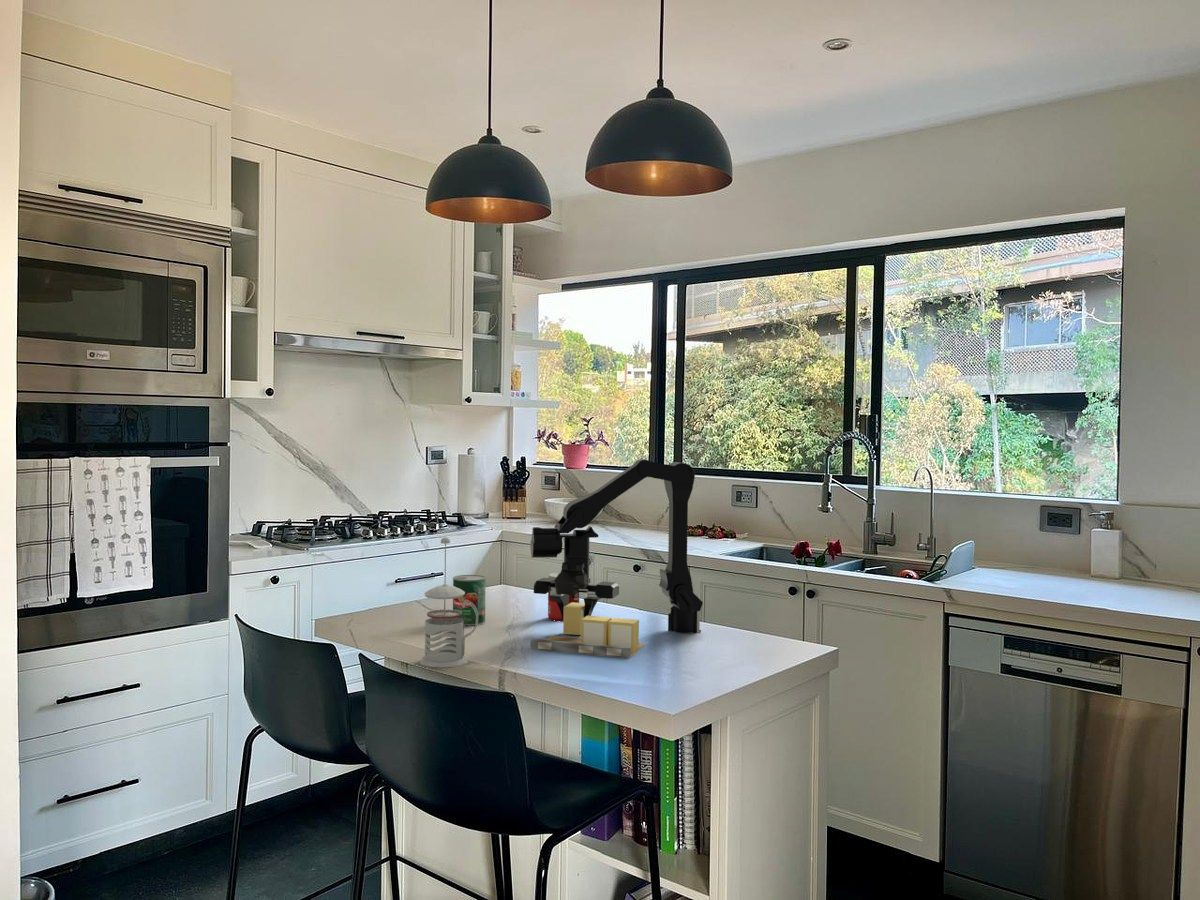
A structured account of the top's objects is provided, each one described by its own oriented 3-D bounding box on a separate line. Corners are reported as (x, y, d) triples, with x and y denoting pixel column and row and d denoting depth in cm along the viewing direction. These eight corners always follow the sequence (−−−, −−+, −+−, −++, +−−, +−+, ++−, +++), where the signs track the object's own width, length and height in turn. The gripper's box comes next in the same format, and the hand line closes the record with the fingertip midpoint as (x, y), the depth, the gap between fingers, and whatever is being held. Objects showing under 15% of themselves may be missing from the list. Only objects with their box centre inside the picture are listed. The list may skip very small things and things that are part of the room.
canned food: (566, 623, 214) (566, 578, 214) (541, 619, 219) (541, 574, 219) (585, 618, 221) (586, 574, 220) (560, 614, 225) (561, 571, 225)
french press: (424, 654, 183) (426, 534, 183) (480, 655, 183) (482, 534, 183) (414, 667, 174) (415, 539, 173) (473, 668, 173) (475, 540, 173)
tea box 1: (611, 645, 189) (611, 617, 189) (605, 649, 185) (606, 621, 185) (587, 643, 191) (587, 615, 191) (580, 647, 187) (581, 619, 187)
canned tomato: (485, 618, 219) (486, 574, 219) (485, 625, 211) (485, 579, 211) (453, 619, 218) (453, 574, 218) (451, 626, 210) (452, 580, 210)
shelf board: (645, 648, 191) (645, 634, 191) (629, 663, 178) (629, 648, 178) (552, 640, 197) (552, 626, 197) (529, 654, 185) (530, 639, 185)
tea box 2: (638, 647, 187) (639, 619, 187) (633, 652, 183) (633, 623, 183) (613, 645, 189) (614, 617, 189) (608, 650, 185) (608, 621, 185)
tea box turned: (571, 628, 203) (571, 602, 203) (588, 629, 202) (588, 603, 202) (563, 633, 198) (563, 606, 198) (580, 635, 197) (580, 608, 196)
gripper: (524, 559, 195) (523, 630, 195) (605, 564, 189) (604, 637, 189) (542, 553, 205) (542, 620, 206) (620, 557, 200) (619, 626, 200)
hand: (575, 626), depth 200 cm, fingers closed on tea box turned, 4 cm apart
